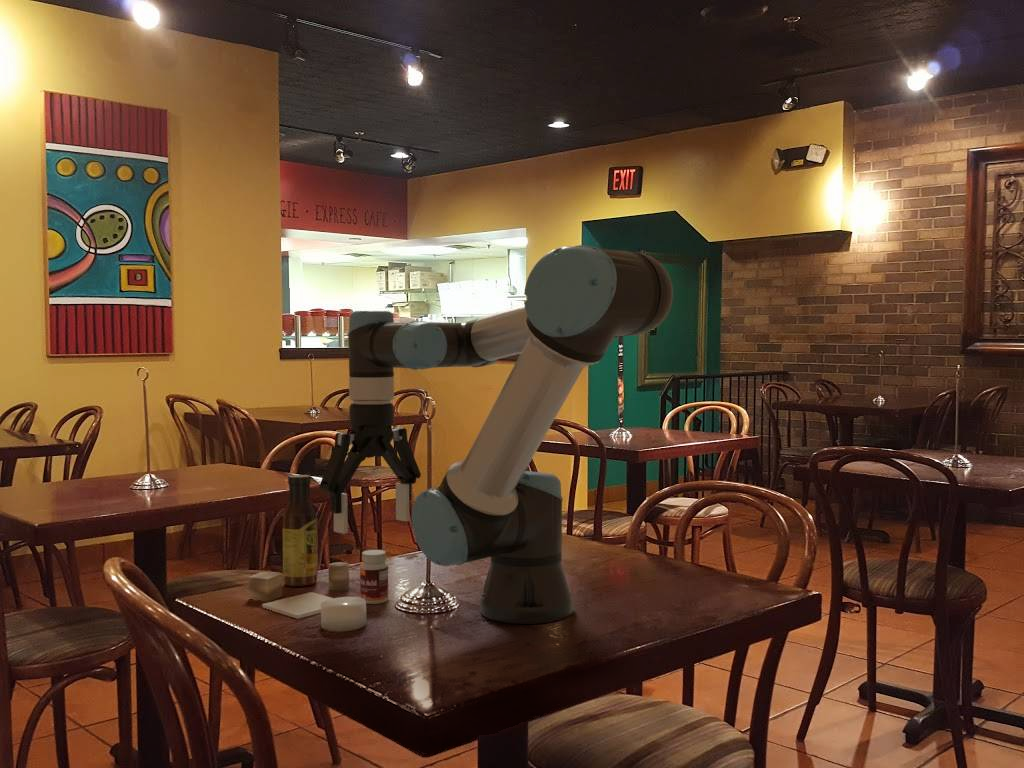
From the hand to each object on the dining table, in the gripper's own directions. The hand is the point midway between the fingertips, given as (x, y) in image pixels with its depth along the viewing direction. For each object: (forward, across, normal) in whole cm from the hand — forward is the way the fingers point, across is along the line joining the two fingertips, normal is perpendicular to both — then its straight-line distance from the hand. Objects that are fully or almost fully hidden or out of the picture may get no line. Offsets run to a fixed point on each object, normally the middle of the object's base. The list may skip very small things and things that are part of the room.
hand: (372, 526), depth 161 cm
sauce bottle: (+13, +1, -19) cm, 23 cm away
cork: (+13, -1, -11) cm, 17 cm away
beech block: (+13, +11, -16) cm, 23 cm away
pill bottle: (+13, 0, 0) cm, 13 cm away
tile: (+13, +10, -6) cm, 17 cm away
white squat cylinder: (+13, +12, +7) cm, 19 cm away
